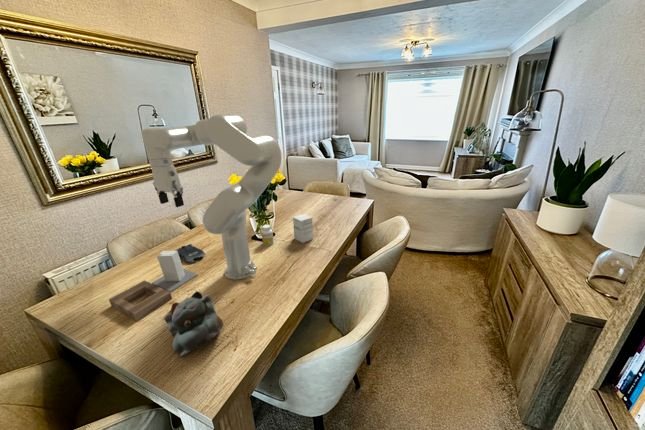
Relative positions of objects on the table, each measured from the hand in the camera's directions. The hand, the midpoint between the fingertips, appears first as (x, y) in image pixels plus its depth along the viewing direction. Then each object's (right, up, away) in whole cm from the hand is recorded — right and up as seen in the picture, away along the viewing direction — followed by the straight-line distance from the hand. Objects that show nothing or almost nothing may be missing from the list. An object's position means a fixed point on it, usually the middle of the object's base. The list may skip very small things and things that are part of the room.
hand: (172, 204), depth 103 cm
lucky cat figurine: (+23, -41, -27) cm, 55 cm away
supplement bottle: (+33, -19, +27) cm, 47 cm away
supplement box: (+51, -17, +31) cm, 62 cm away
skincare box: (+2, -30, -1) cm, 30 cm away
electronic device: (-1, -24, +17) cm, 30 cm away
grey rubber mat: (+1, -31, 0) cm, 31 cm away
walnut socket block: (-3, -36, -12) cm, 38 cm away
